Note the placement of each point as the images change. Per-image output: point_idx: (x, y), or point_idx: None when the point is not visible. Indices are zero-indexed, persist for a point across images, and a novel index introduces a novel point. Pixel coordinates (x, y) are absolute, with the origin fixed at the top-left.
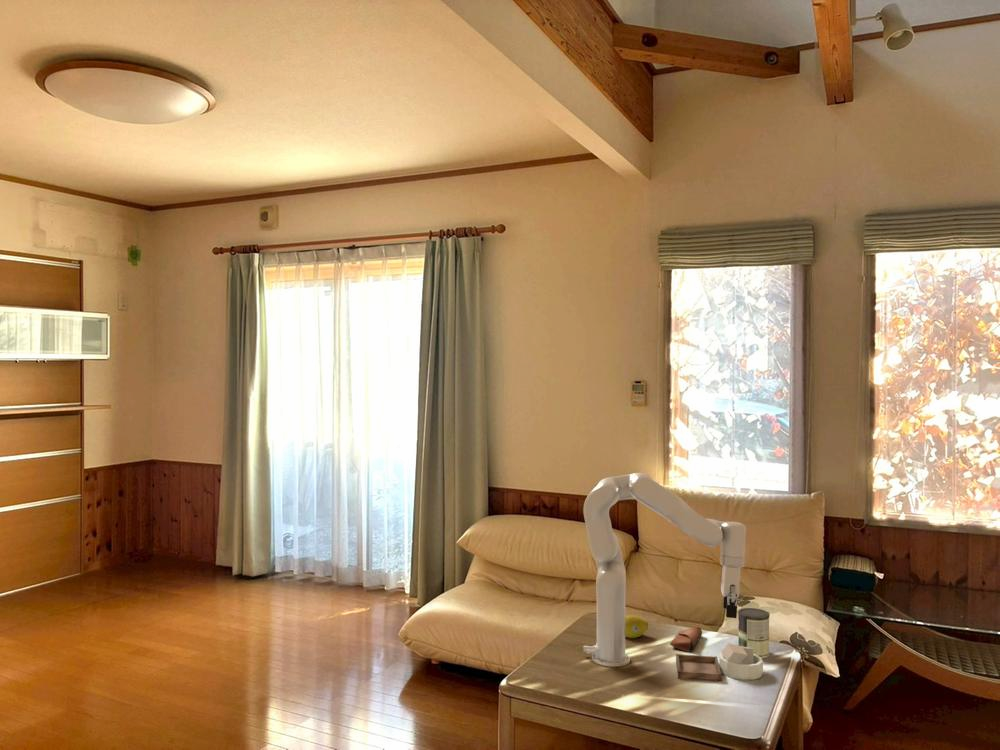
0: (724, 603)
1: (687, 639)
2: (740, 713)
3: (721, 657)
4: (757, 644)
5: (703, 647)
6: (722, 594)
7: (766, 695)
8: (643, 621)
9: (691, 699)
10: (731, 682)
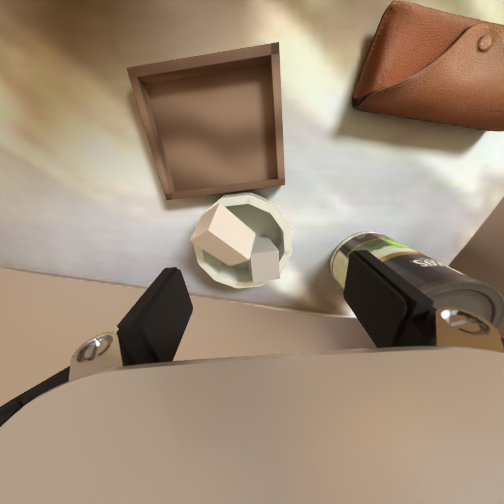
0: (366, 270)
1: (397, 74)
2: (40, 234)
3: (229, 200)
4: (343, 282)
5: (398, 142)
6: (141, 377)
7: (148, 275)
8: None
9: (31, 130)
10: (179, 217)
